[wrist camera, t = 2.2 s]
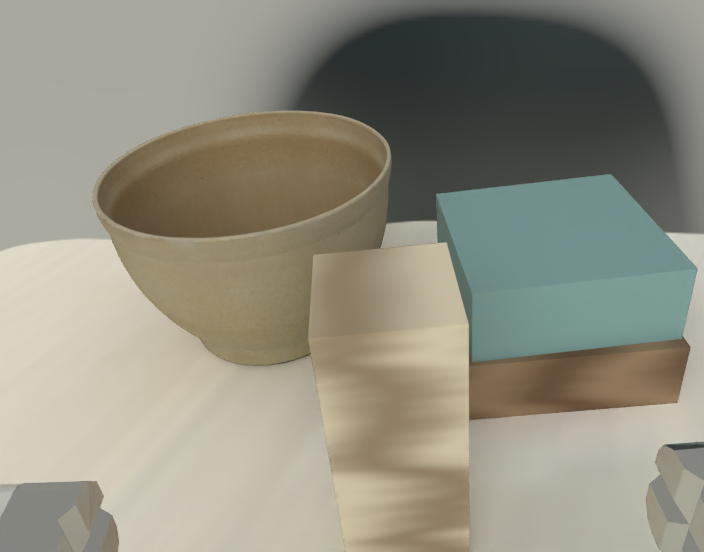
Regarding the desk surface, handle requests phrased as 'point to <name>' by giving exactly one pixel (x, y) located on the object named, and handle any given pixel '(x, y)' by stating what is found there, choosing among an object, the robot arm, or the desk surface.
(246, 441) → the desk surface
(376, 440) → the ash pillar block
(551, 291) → the teal top block
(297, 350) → the planter bowl
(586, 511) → the desk surface
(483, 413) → the walnut base block
